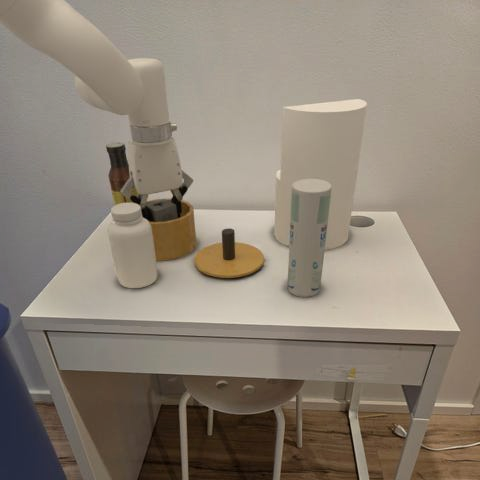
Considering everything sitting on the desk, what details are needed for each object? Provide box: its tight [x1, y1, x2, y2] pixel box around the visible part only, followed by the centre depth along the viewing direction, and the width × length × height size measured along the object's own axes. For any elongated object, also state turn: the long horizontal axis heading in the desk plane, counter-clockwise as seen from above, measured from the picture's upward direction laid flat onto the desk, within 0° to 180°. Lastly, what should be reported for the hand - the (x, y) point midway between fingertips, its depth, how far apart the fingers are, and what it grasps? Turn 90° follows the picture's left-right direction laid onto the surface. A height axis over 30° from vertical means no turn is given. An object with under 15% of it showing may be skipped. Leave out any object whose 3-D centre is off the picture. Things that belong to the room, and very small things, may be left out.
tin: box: [146, 198, 197, 261], centre depth 96 cm, size 14×14×8 cm
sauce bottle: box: [105, 141, 138, 206], centre depth 101 cm, size 7×6×20 cm
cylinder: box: [273, 98, 368, 251], centre depth 94 cm, size 17×17×28 cm
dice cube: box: [146, 198, 178, 222], centre depth 94 cm, size 5×5×5 cm
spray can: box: [287, 179, 332, 298], centre depth 77 cm, size 6×6×20 cm
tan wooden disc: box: [193, 228, 265, 279], centre depth 90 cm, size 15×15×7 cm
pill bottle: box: [107, 203, 159, 289], centre depth 83 cm, size 8×8×15 cm
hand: (162, 219), depth 95 cm, fingers open, 6 cm apart
